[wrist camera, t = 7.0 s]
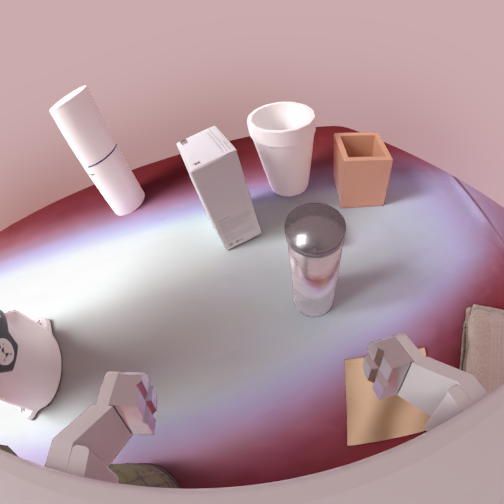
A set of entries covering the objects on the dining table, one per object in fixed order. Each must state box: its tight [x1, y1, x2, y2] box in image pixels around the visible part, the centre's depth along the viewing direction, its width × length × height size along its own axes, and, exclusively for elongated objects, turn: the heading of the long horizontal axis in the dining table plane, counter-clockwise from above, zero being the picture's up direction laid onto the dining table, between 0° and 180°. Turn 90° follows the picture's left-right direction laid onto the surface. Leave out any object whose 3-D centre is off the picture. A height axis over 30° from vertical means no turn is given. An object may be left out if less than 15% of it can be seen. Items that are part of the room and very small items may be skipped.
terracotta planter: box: [333, 132, 393, 208], centre depth 39 cm, size 7×7×9 cm
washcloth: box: [459, 304, 504, 394], centre depth 21 cm, size 12×18×3 cm, turn 162°
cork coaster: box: [344, 348, 431, 446], centre depth 25 cm, size 10×10×1 cm
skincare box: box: [177, 126, 261, 250], centre depth 37 cm, size 8×6×15 cm
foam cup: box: [247, 102, 316, 197], centre depth 41 cm, size 10×9×13 cm
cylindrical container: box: [49, 85, 145, 216], centre depth 42 cm, size 7×7×25 cm
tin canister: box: [285, 203, 346, 317], centre depth 28 cm, size 5×5×14 cm
